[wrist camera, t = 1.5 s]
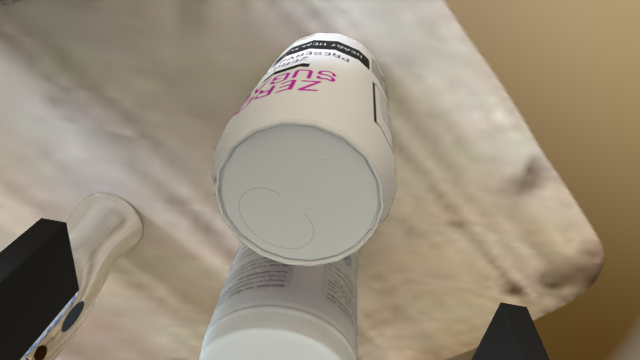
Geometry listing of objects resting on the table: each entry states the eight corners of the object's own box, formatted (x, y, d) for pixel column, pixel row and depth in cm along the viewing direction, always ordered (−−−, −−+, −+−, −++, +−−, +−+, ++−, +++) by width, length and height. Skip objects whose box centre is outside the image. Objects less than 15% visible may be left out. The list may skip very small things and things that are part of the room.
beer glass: (65, 228, 39) (-84, 369, 26) (84, 174, 36) (-75, 305, 23) (134, 262, 40) (25, 412, 28) (158, 213, 37) (47, 358, 24)
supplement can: (332, 161, 33) (309, 303, 20) (249, 91, 31) (164, 199, 18) (409, 88, 30) (442, 202, 17) (322, 3, 27) (282, 58, 14)
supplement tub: (243, 258, 39) (183, 412, 26) (260, 172, 34) (196, 310, 21) (343, 284, 39) (332, 447, 27) (373, 202, 34) (377, 355, 22)
